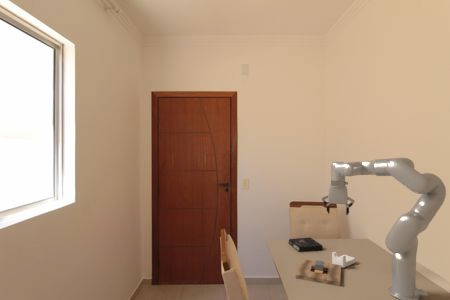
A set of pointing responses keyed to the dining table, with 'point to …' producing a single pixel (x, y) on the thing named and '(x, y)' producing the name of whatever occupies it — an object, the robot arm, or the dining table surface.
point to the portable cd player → (305, 244)
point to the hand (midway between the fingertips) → (337, 213)
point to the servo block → (319, 267)
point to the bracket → (342, 260)
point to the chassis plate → (307, 274)
